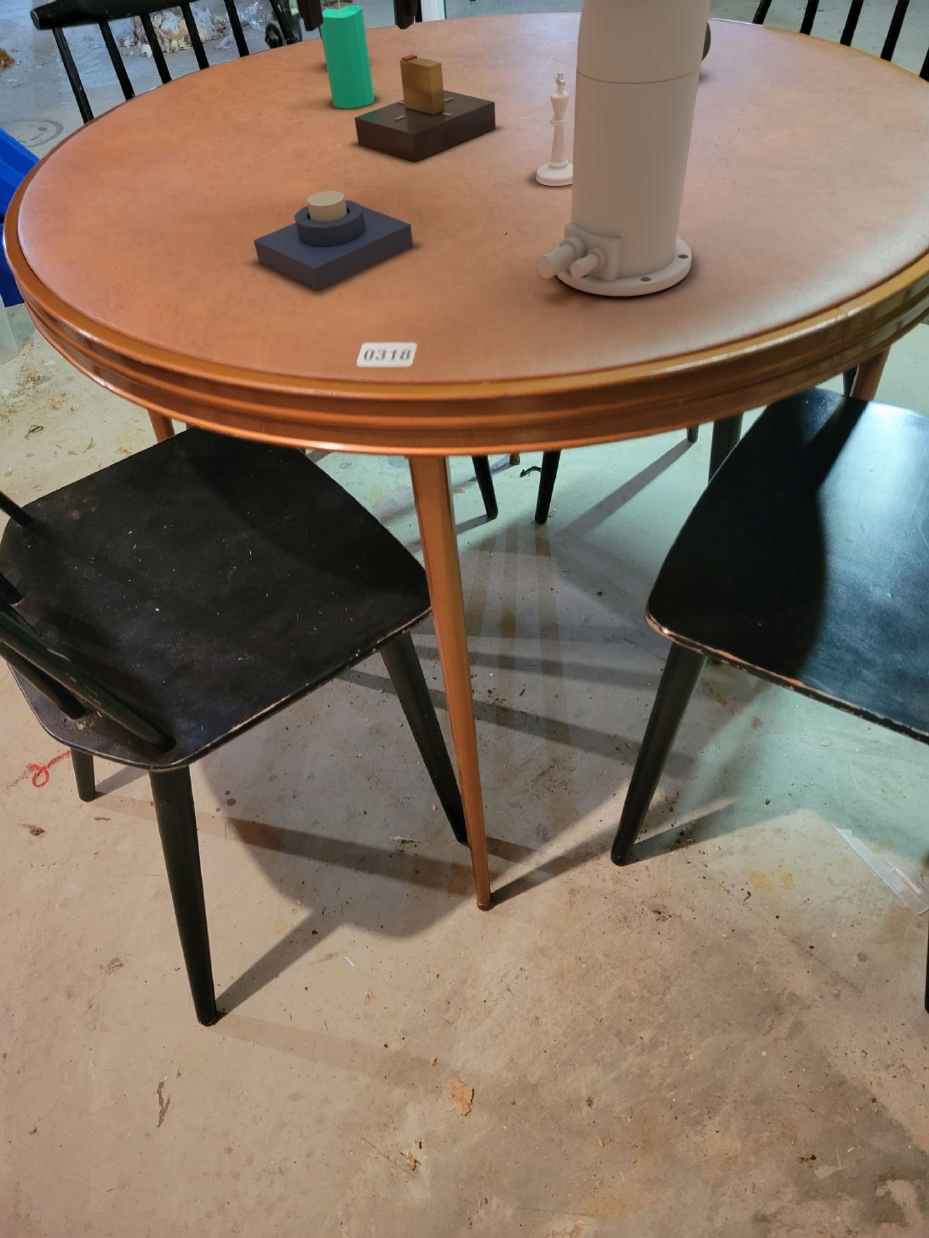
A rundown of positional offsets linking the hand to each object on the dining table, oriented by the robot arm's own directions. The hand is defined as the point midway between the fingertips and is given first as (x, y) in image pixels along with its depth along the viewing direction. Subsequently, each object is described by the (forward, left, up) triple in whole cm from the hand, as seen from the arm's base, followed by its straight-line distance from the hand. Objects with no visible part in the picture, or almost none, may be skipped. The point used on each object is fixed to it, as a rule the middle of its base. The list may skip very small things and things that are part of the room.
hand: (360, 27), depth 75 cm
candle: (+20, +30, -16) cm, 40 cm away
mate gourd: (+31, +46, -16) cm, 58 cm away
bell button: (-13, -8, -12) cm, 19 cm away
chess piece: (+15, -13, -16) cm, 25 cm away
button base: (-13, -8, -15) cm, 22 cm away
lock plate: (+16, +10, -15) cm, 24 cm away
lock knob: (+16, +10, -12) cm, 23 cm away
